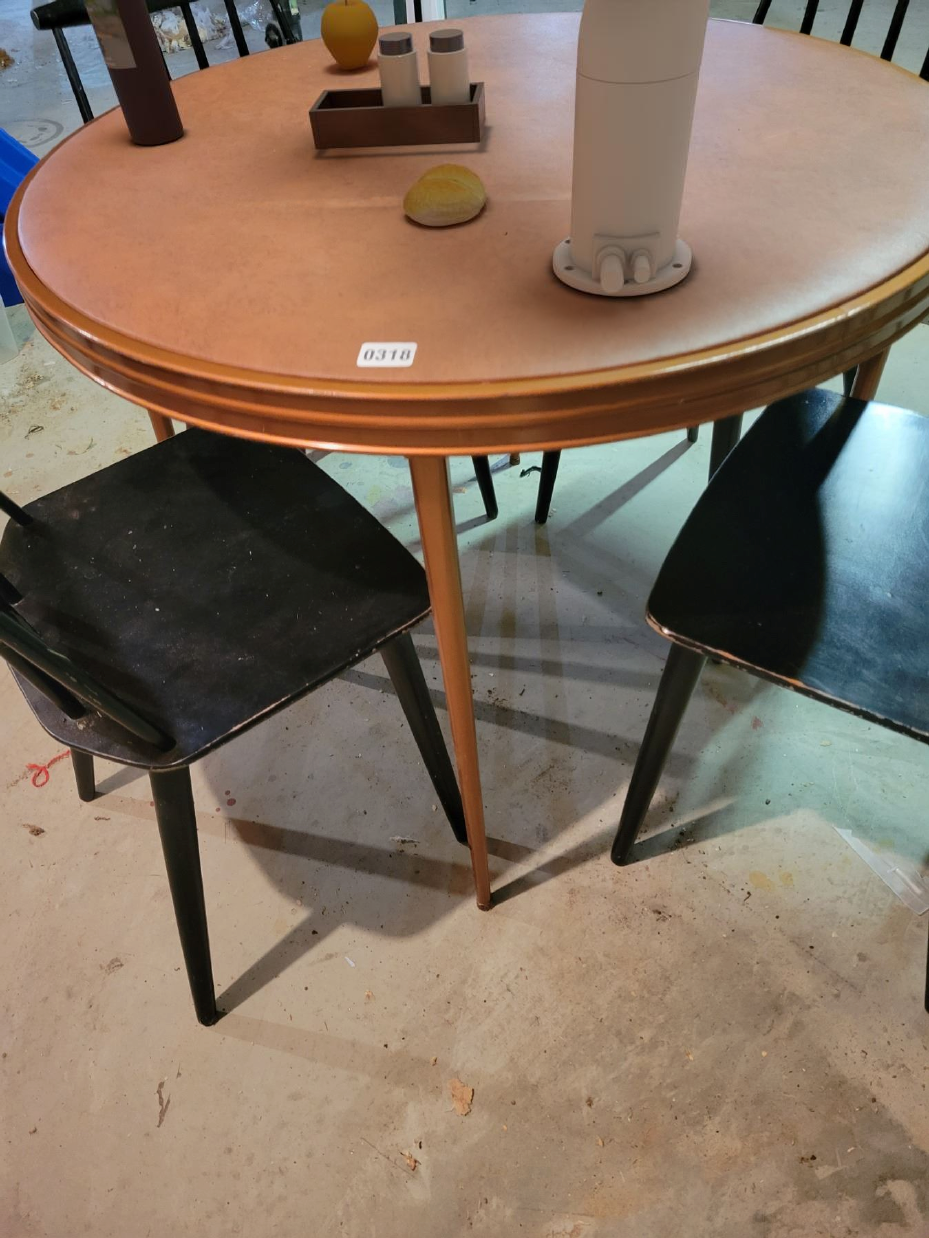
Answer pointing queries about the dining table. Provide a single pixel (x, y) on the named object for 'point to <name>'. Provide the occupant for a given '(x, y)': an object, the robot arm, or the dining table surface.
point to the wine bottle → (136, 69)
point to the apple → (349, 32)
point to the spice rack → (394, 119)
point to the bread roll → (445, 196)
